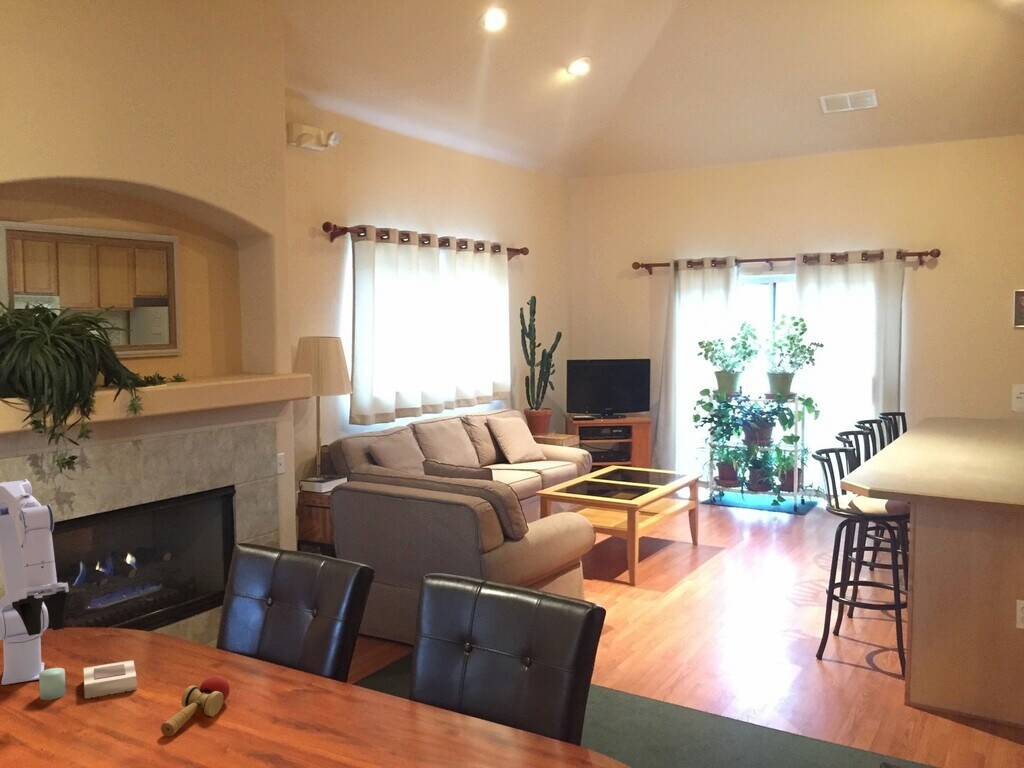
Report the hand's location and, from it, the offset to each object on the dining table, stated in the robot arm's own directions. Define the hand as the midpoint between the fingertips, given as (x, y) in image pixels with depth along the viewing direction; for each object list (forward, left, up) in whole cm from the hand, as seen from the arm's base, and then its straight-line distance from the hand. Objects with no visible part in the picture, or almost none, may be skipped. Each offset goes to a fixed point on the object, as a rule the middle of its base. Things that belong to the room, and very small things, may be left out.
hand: (46, 632), depth 177 cm
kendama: (+17, +26, -16) cm, 35 cm away
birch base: (-7, +11, -16) cm, 21 cm away
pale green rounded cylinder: (-7, 0, -16) cm, 17 cm away
